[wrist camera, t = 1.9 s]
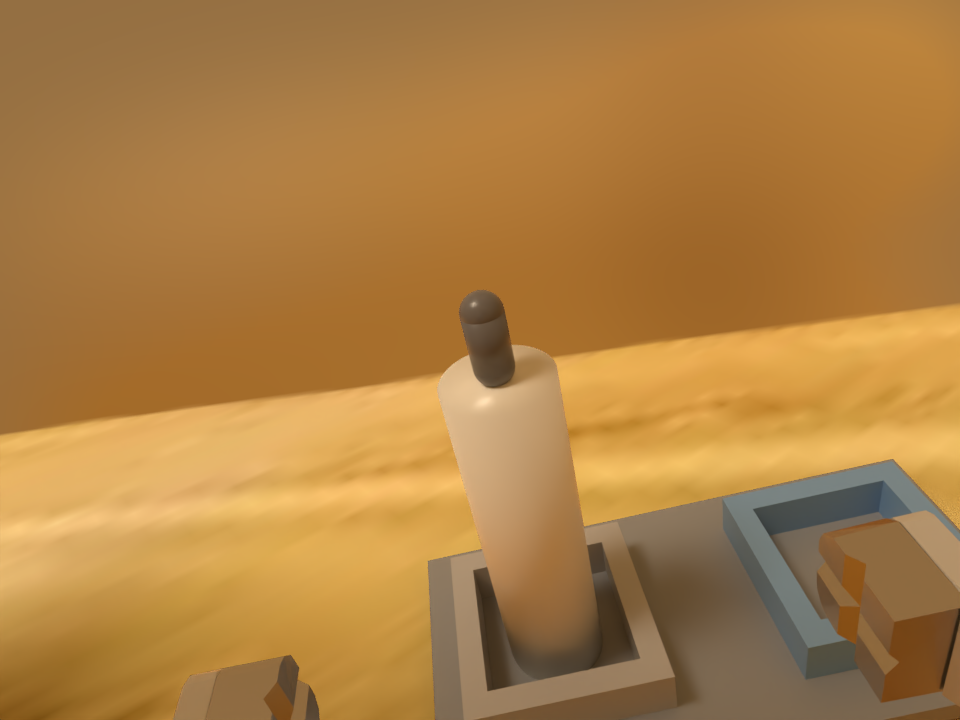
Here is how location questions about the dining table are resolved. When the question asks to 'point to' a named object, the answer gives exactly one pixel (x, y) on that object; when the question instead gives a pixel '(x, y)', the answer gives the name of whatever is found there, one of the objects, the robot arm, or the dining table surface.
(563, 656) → the knob-topped cream cylinder
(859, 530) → the robot arm
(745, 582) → the lever base plate
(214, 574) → the dining table surface
